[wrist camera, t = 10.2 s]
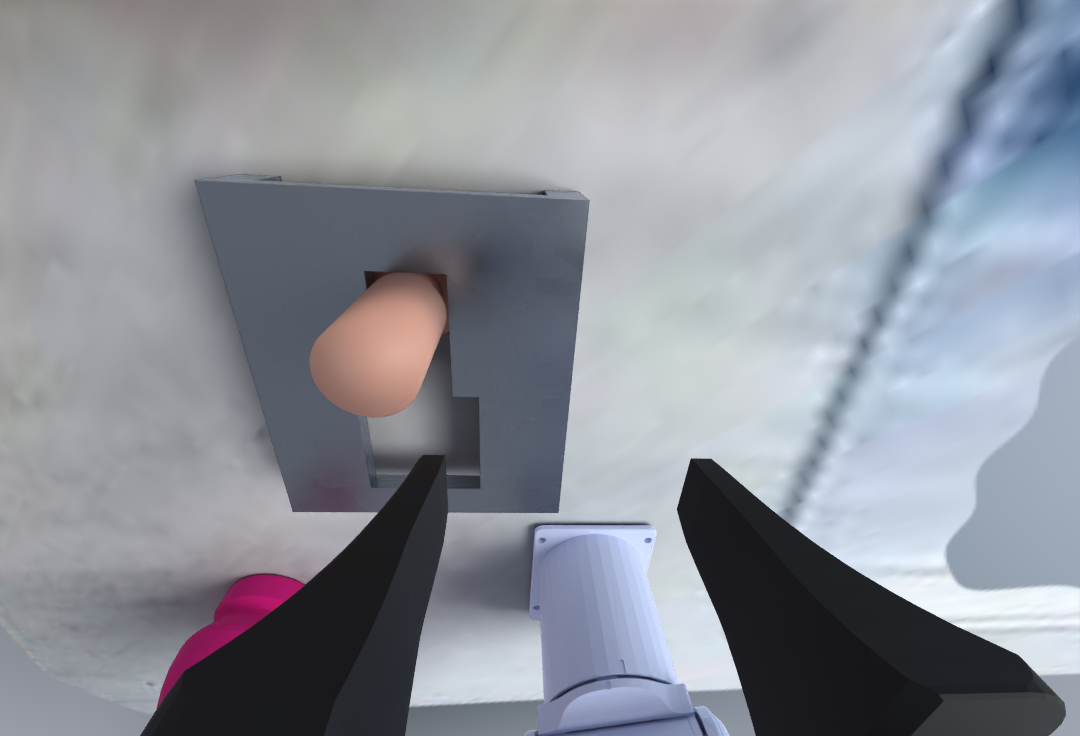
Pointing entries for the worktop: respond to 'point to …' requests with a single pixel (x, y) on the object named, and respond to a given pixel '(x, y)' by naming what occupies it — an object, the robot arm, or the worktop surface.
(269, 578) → the pepper mill
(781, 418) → the worktop surface
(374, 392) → the peg
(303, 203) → the keyhole plate
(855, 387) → the worktop surface
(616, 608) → the robot arm
